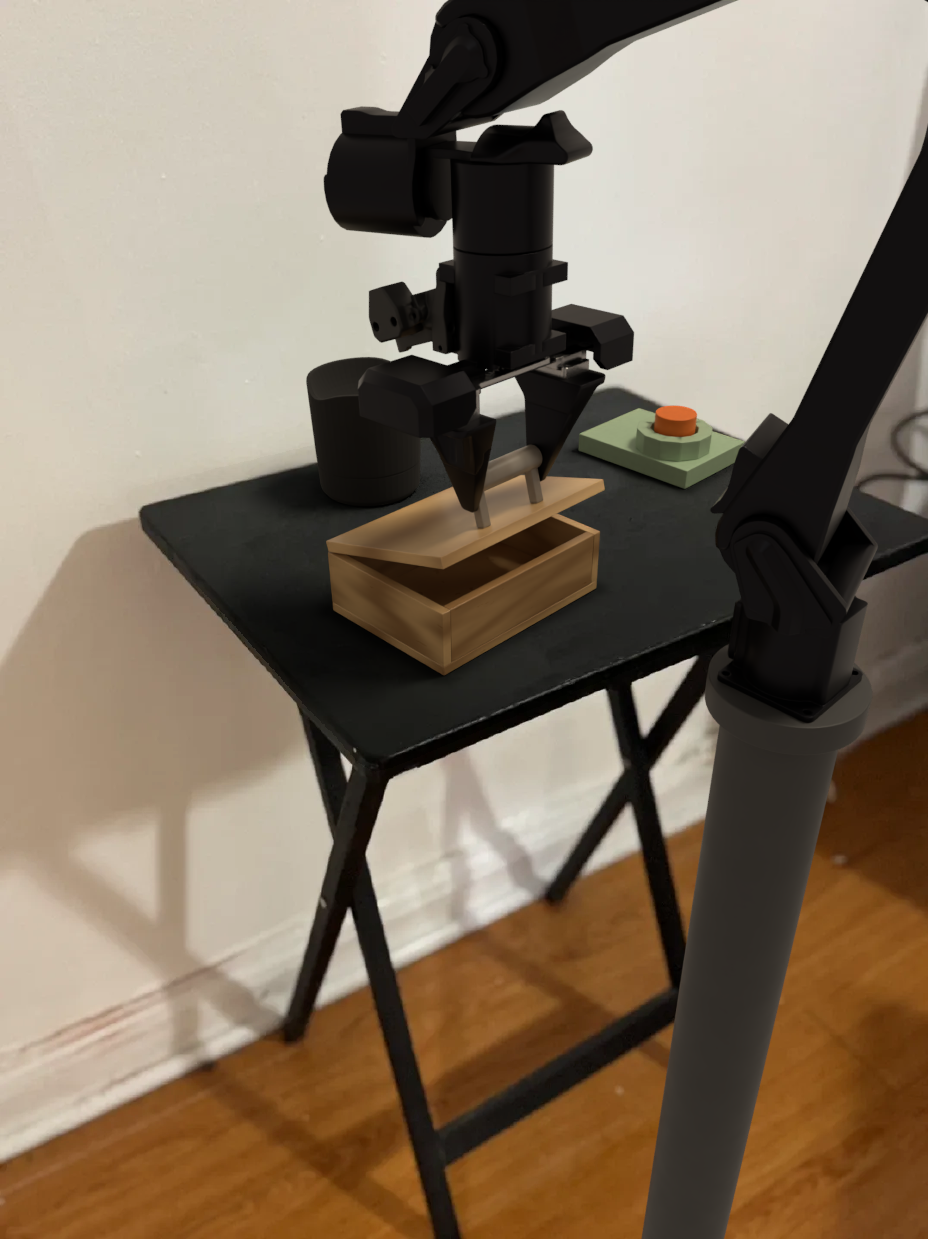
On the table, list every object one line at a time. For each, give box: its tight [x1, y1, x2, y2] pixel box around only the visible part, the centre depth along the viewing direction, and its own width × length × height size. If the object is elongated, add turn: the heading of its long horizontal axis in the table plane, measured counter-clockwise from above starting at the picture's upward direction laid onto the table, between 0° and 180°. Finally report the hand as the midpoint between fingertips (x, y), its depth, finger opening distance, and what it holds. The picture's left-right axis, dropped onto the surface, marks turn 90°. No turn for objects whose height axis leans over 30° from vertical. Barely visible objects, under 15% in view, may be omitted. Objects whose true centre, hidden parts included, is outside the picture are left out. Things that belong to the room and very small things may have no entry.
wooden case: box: [327, 513, 601, 676], centre depth 74 cm, size 11×15×5 cm
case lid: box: [325, 445, 606, 569], centre depth 71 cm, size 12×15×5 cm
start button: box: [654, 405, 698, 437], centre depth 92 cm, size 4×4×2 cm
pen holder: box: [305, 356, 422, 507], centre depth 89 cm, size 9×9×10 cm
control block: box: [578, 407, 746, 490], centre depth 95 cm, size 12×9×4 cm
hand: (504, 494), depth 68 cm, fingers closed on case lid, 6 cm apart
